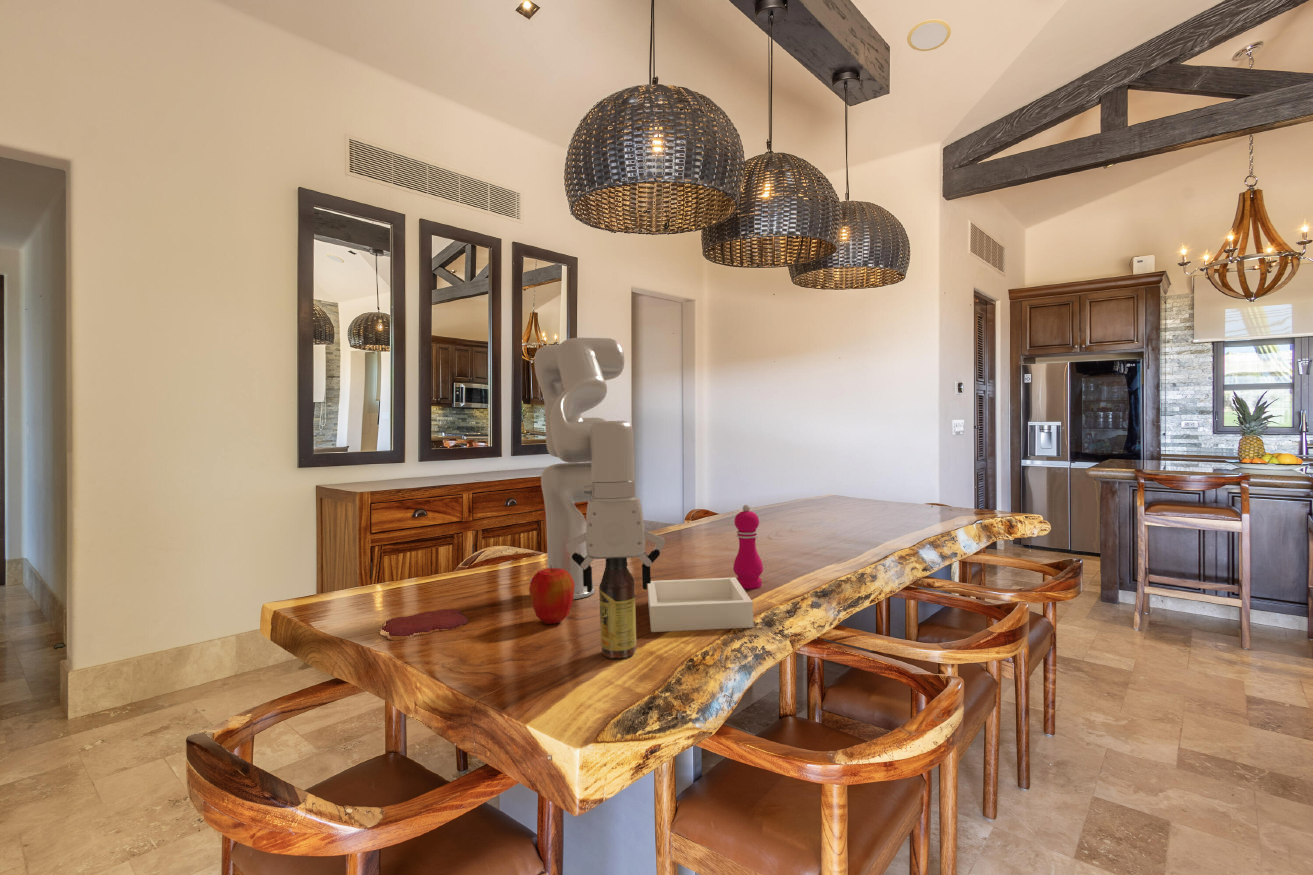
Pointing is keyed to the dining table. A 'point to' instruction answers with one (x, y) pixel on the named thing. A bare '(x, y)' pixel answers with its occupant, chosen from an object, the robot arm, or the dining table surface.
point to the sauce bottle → (617, 610)
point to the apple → (552, 594)
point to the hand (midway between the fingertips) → (617, 589)
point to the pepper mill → (747, 550)
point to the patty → (425, 622)
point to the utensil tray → (698, 605)
